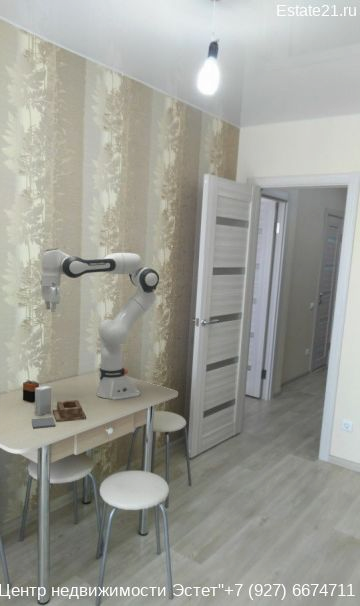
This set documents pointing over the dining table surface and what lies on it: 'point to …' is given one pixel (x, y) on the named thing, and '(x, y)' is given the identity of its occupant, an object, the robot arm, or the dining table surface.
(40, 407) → the skincare box
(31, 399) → the battery
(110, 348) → the robot arm
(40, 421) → the rubber mat
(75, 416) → the socket block
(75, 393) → the dining table surface
